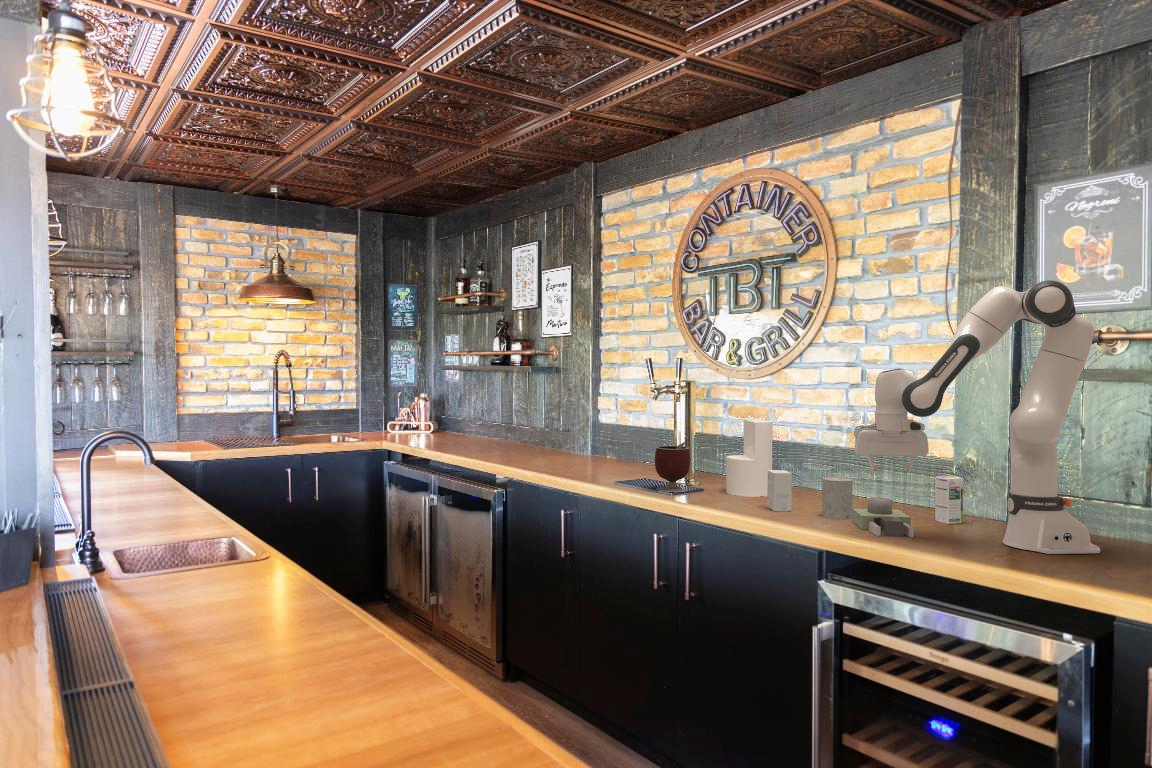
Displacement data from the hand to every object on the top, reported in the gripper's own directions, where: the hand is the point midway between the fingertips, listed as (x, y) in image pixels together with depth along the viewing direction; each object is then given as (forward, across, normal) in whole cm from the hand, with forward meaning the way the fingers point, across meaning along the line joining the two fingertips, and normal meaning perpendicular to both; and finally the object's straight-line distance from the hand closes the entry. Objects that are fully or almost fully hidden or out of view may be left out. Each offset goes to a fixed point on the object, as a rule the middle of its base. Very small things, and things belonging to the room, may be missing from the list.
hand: (890, 471), depth 222 cm
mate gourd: (+18, -63, +68) cm, 94 cm away
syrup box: (+19, +23, +19) cm, 35 cm away
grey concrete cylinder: (+18, -10, +24) cm, 32 cm away
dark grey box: (+18, 0, -1) cm, 18 cm away
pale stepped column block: (+18, -34, +67) cm, 77 cm away
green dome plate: (+18, 0, +5) cm, 19 cm away
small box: (+18, -27, +34) cm, 47 cm away
